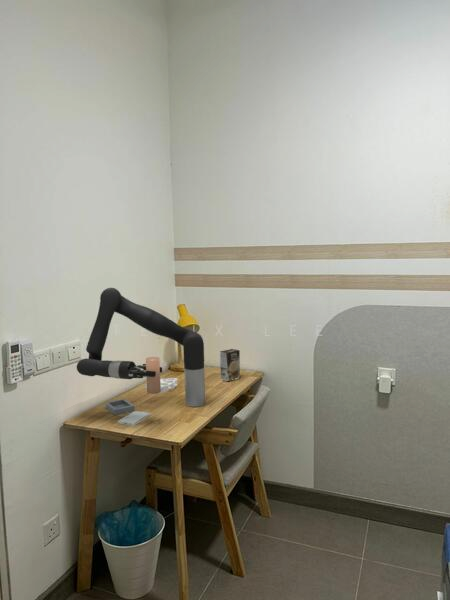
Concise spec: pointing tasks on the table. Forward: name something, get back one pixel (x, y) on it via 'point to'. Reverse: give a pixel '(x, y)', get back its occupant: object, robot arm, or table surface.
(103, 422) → the table surface
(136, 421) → the hard drive
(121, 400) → the slate dish
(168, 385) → the white brass knuckles
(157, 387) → the pink rounded cylinder
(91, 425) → the table surface
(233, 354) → the coffee box
